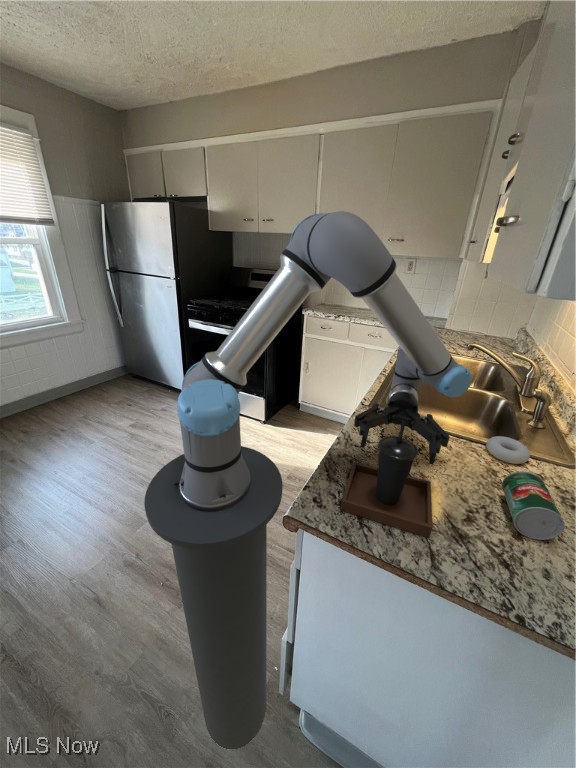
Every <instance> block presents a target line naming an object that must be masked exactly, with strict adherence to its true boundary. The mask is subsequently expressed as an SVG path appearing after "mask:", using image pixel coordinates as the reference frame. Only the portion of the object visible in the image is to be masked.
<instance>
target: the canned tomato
mask: <svg viewBox="0 0 576 768" xmlns="http://www.w3.org/2000/svg"><path fill="white" fill-rule="evenodd" d="M501 489H502V492H503V494H504V497H505V500H506V501H505V502H506V504H507V507H508V511H509V513H510V516H511V519H512V522H513V525H514V528H515V529H516V530H517V532H519V533H520V534H521V535H523V536H525V537H527V538H529V539H532V540H538V541H545V540H551V539H556V538H557V537H559V536H560V535H562V533H564V532H565V531H564V530H565V527H566V525H565V524H566V523H565V521H564V519H563V517H562V516H561V513H560V511H559V509H558V507H557V505H556V503H555V501H554V499H553V498H552V495H551V494H550V492H549V490H548V487H547V486H546V483H545V481H544V480H543V479H542V478H541V477H540V476H539V475H537V474H536V473H532V472H528V471H515V472H512V473H510V474H507V475H506V476H505V477H504V478H503V480H502V482H501Z"/></svg>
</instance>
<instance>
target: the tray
mask: <svg viewBox="0 0 576 768" xmlns="http://www.w3.org/2000/svg"><path fill="white" fill-rule="evenodd" d="M377 474H378V467H376V466H373V465H368V464H365V463H360V462H356V461H353V463H352V466H351V469H350V472H349V476H348V478H347V482H346V486H345V489H344V493H343V495H342V499H341V504H340V511H341V512H345V513H348V514H351V515H355V516H357V517H361V518H365V519H368V520H371V521H374V522H377V523H380V524H382V525H383V524H384V525H386V526H390V527H393V528H396V529H400V530H402V531H406V532H409V533H413V534H415V535H419V536H422V537H425V538H428V539H430V537H431V535H432V532H433V531H432V530H433V506H432V505H433V504H432V503H433V502H432V481H430V480H427V479H423V478H419V477H414V476H410V475H408V477H407V480H406V482H405V485H404V488H403V490H402V493H401V496H400V498H399V501H398V503H397V504H396V505H392V506H389V505H385V504H383V503H381V502H380V501H379V500H378V499H377V497H376V487H377Z"/></svg>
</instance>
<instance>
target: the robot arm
mask: <svg viewBox="0 0 576 768" xmlns="http://www.w3.org/2000/svg"><path fill="white" fill-rule="evenodd" d="M279 258H280V259H279V260H280V265H279V266H280V267H279V268H278V270H276V272H275V274H274V275H273V276H272V277H271V278H270V280H269V281H268V282H267V284H266V285H265V287H264V288H263V289H262V291H261V292H260V293H259V294H258V296H257V297H256V298H255V300H254V301H253V302H252V304H251V305H250V306H249V308H248V309H247V310H246V312H245V313H244V314H243V315H242V317H241V318H240V320H238V322H237V323H236V325H235V326H234V327H233V329H232V330H231V331H230V332H229V334H228V335H227V336H226V338H225V339H224V341H223V342H222V343H221V345H220V346H219V347H218V349H217V350H216V351H208V352H206V353H205V354H204V356H203V357H202V358H201V359H200V361H198V362H196V363H195V364H193V365H191V366H190V367H189V369H188V370H187V371H186V373H185V375H184V377H183V379H182V384H181V392H180V393H179V396H178V398H177V405H176V411H177V412H176V413H177V418H178V421H179V424H180V425H179V426H180V432H181V433H180V434H181V440H182V447H183V454H184V455H185V464H184V468H183V472H182V476H181V479H179V480H177V481H174V485H178V484H180V492H181V497H182V499H183V501H184V502H185V503H186V504H187V505H188V506H190V507H192V508H194V509H196V510H200V511H207V512H213V511H220V510H224V509H227V508H229V507H232V506H234V505H235V504H237V503H238V502H240V501H241V500H242V499H243V498H244V497H245V496H246V495H247V493H248V491H249V489H250V485H251V478H250V471H249V469H248V467H247V465H246V464H245V461H244V459H243V456H242V454H241V446H242V441H241V439H242V438H241V437H242V436H241V417H240V414H241V401H240V399H239V394H240V393H241V391H242V390H243V389H244V388H245V386H246V385H247V382H248V381H247V373H248V372H249V370H251V368H253V365H255V363H256V362H257V361H258V359H260V357H261V356H262V354H263V353H264V352H265V351H266V349H267V348H268V347H269V345H270V344H271V343H272V342H273V340H274V339H275V338H276V337H277V335H278V334H279V333H280V332H281V330H282V329H283V327H284V326H286V324H287V323H288V322H289V320H290V319H291V318H292V317H293V316H294V314H295V313H296V312H297V311H298V309H299V308H300V306H301V305H302V304H303V303H304V302H305V300H306V299H307V298H308V296H309V295H310V294H311V293H315V292H321V291H322V290H323V289H324V287H326V285H327V284H328V282H329V281H330V280H331V279H334V280H335V281H337V282H338V283H340V284H341V285H342V286H343V287H345V288H346V289H347V291H348V292H349V293H350V294H351V295H352V297H353V298H355V299H362V300H363V302H364V303H365V304H366V306H368V308H369V309H370V310H371V312H372V313H373V314H374V316H375V318H377V320H378V321H379V322H380V324H382V326H383V327H384V328H385V329H386V331H387V332H388V333H389V334H390V336H391V337H392V338H393V340H394V341H395V342H396V343H397V345H398V348H397V353H396V360H395V366H394V370H393V374H392V375H393V376H392V380H391V383H390V391H389V395H388V400H387V405H386V407H381V406H380V403H377V402H375V403H374V404H373V405H372V406H371V407H369V408H367V409H366V410H364V411H362V412H360V413H358V414H357V415H355V416H354V423H353V426H354V427H355V428H358V427H359V430H358V431H359V432H358V435H359V436H360V437H362V438H361V444H360V448H362V449H365V447H366V444H367V441H368V437H369V433H370V429H373V428H376V427H379V426H383V425H385V426H388V425H391V424H393V425H398V426H401V424H402V419H405V420H406V423H405V427H407V428H408V429H409V430H411V431H413V432H416V433H417V434H418V435H420V436H421V437H422V438H423V439H424V440H426V441H427V442H428V464H429V465H432V466H434V464H435V460H436V457H437V454H439V455H440V452H441V448H442V447H443V448H448V445H449V441H450V438H451V436H450V435H449V434H448V433H447V432H446V431H445V430H444V428H442V426H441V425H440V424H439V423H438V422H437V421H436V420H435V419H434V417H433V415H432V414H431V413H427V414H426V415H425V416H424V415H421V414H420V413H419V393H420V387H421V382H424V383H426V384H427V385H429V386H430V387H432V388H433V389H435V390H436V391H438V393H439V394H443V395H444V396H446V397H448V398H457V397H460V396H462V395H464V394H465V393H466V391H468V390H469V388H470V387H471V385H472V382H473V373H472V372H471V371H470V369H468V368H467V367H465V366H464V365H462V364H460V363H458V362H457V361H456V360H455V358H454V357H453V356H452V354H451V352H449V350H448V349H447V347H446V346H445V345H444V343H443V341H442V340H441V338H440V336H439V335H438V334H437V333H436V332H437V331H435V329H434V328H433V327H432V325H431V323H430V322H429V320H428V319H427V317H426V316H425V315H424V313H423V311H422V309H420V307H419V306H418V304H417V302H416V301H415V300H414V299H413V297H412V295H411V294H410V292H409V291H408V289H407V288H406V286H405V284H404V283H403V282H402V280H401V279H400V277H399V275H398V274H397V273H396V271H397V267H398V264H397V262H396V261H395V258H394V257H393V256H392V254H391V253H390V251H389V250H388V248H387V247H386V245H385V244H384V242H383V241H382V240H381V238H380V237H379V236H378V234H377V233H376V232H375V231H374V230H373V228H372V226H370V225H369V224H368V223H367V221H366V220H364V219H363V218H361V217H360V216H358V215H357V214H355V213H353V212H349V211H344V210H338V211H337V210H336V211H333V212H325V213H324V212H320V213H314V214H311V215H309V216H307V217H304V218H303V219H302V220H301V221H299V223H298V224H296V226H295V227H294V229H293V231H292V232H291V236H290V239H289V243H288V244H287V245H286V247H285V248H284V250H283V251H282V252H281V254H280V255H279Z"/></svg>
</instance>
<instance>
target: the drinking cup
mask: <svg viewBox="0 0 576 768" xmlns="http://www.w3.org/2000/svg"><path fill="white" fill-rule="evenodd" d="M405 423H406V420H405V419H402V424H401V425H400V429H399V433H398V436H396V435H388V436H384V437H382V438H380V440H379V441H378V451H379V452H378V461H377V462H378V464H377V468H378V474H377V487H376V497H377V499H378V500H379V501H380V502H381V503H383V504H385V505H389V506H392V505H396V504H397V503H398V501H399V498H400V496H401V493H402V490H403V488H404V485H405V482H406V480H407V477H408V476H410V472H411V469H412V467H413V464H414V461H415V459H416V458H417V457H418V455H419V450H418V447H417V445H415V443H414V442H412V441H411V440H409V439H406V438H404V437H403V436H404V431H405V427H406V426H405Z"/></svg>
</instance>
